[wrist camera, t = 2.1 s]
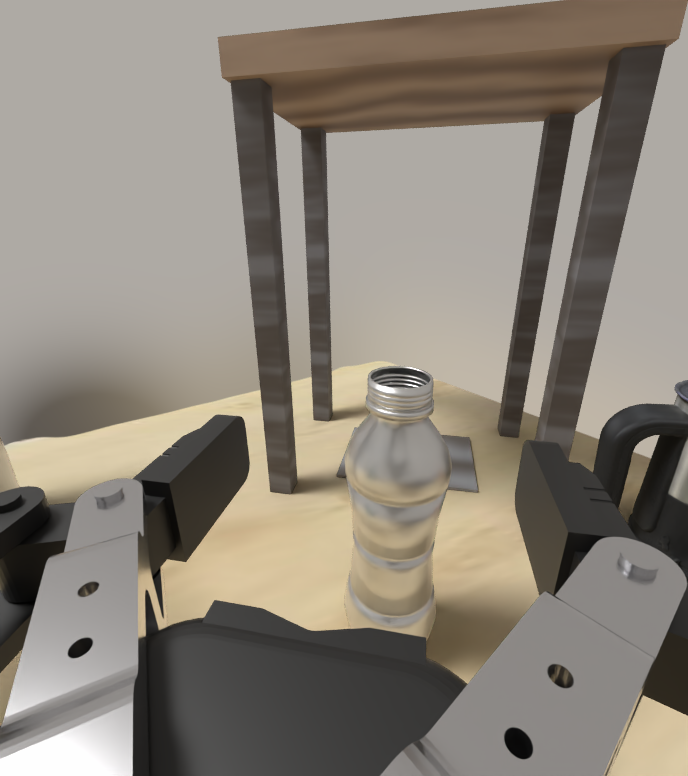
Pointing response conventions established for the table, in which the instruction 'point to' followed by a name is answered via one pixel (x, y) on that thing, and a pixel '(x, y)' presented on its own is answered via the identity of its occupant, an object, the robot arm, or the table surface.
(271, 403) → the counter stand
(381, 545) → the plastic bottle
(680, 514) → the milk frother
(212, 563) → the table surface
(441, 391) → the table surface
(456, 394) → the table surface
